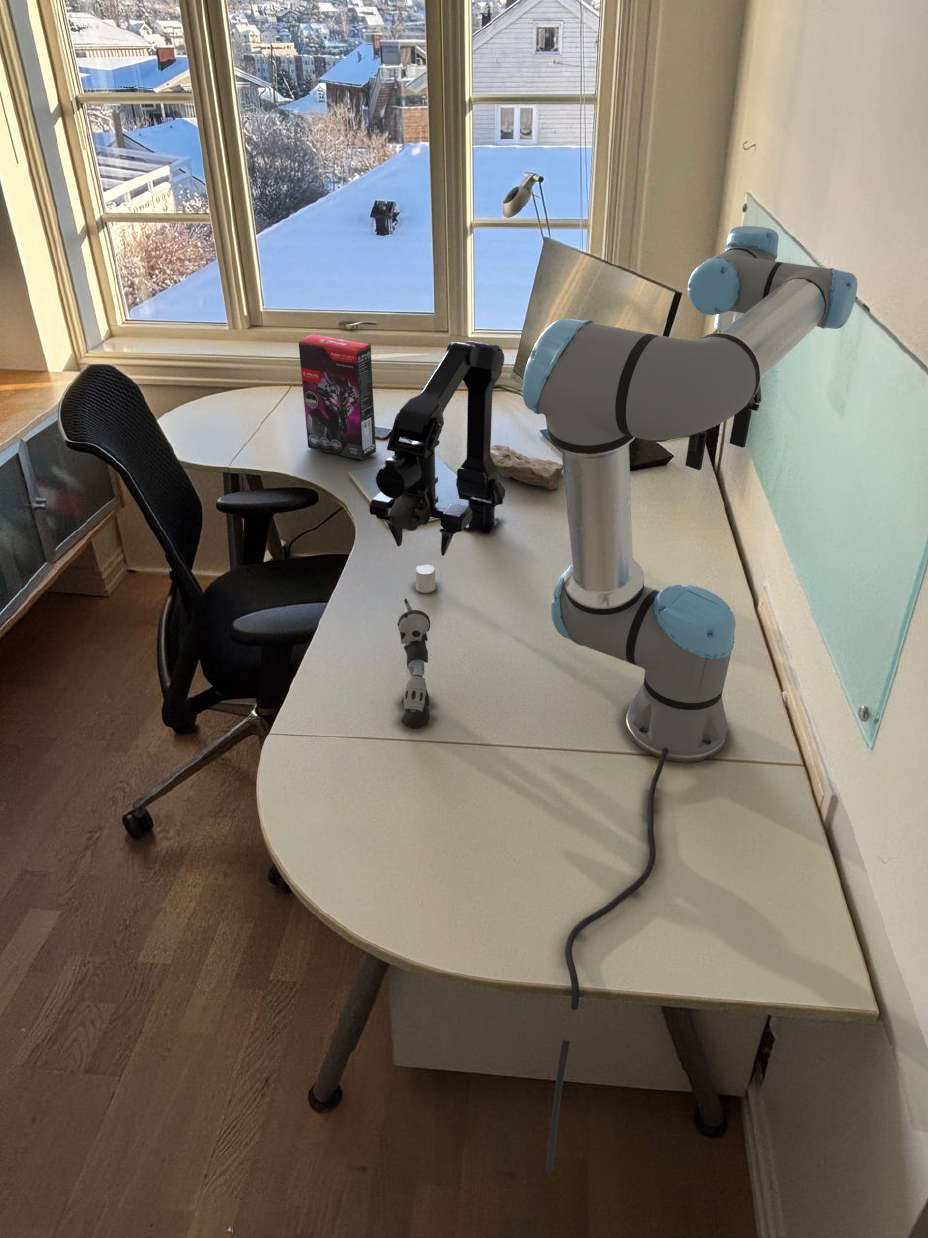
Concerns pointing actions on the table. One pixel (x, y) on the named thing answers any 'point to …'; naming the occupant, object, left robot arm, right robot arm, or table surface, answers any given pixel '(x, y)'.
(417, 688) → the robot
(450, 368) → the left robot arm
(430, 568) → the can
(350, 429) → the graphics card box
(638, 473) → the table surface
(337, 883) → the table surface
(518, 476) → the stone
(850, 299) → the right robot arm
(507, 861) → the table surface
